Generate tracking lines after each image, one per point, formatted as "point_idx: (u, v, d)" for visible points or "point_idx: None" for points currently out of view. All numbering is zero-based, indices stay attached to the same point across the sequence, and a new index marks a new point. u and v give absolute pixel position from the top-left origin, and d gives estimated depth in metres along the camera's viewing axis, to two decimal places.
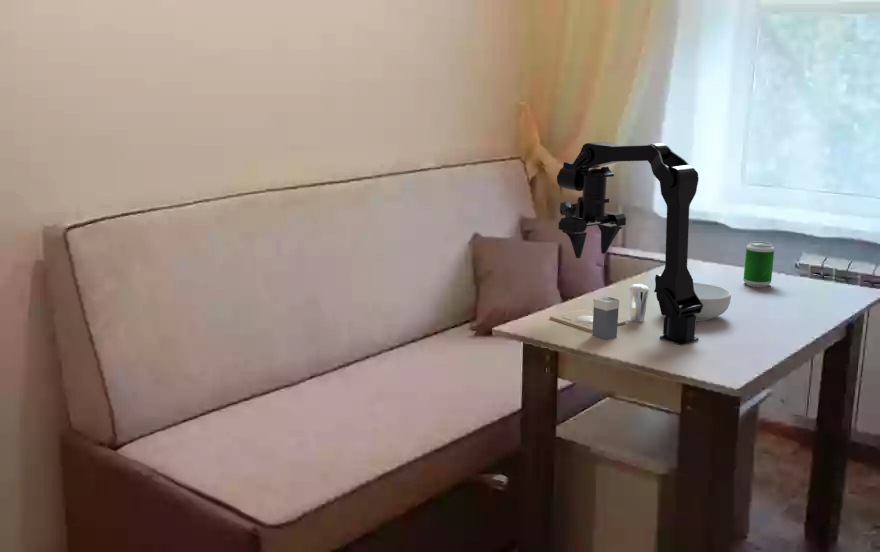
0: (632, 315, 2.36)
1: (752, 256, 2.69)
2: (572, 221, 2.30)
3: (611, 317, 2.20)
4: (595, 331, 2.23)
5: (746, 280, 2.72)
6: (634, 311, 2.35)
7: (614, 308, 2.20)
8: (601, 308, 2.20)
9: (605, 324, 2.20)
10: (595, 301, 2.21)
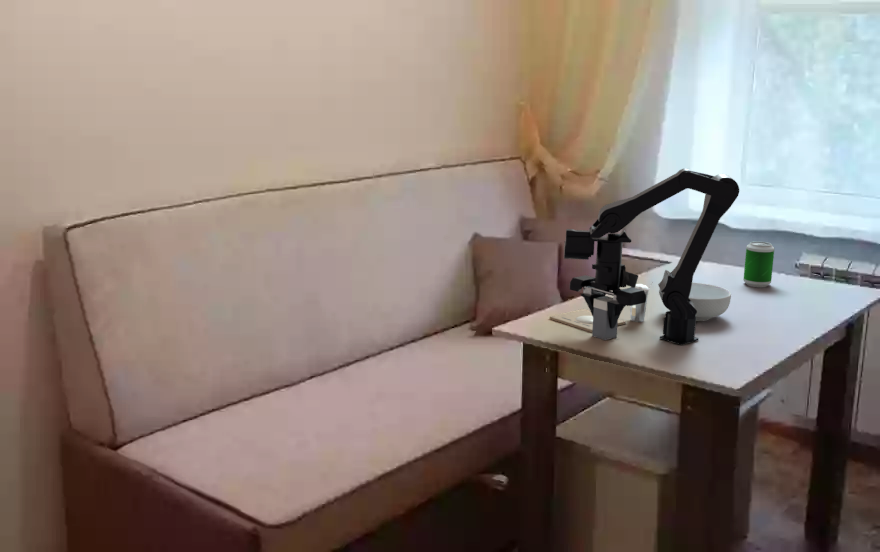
0: (632, 315, 2.36)
1: (752, 256, 2.69)
2: None
3: None
4: (595, 331, 2.23)
5: (746, 280, 2.72)
6: (634, 311, 2.35)
7: None
8: (601, 308, 2.20)
9: (605, 324, 2.20)
10: (595, 301, 2.21)
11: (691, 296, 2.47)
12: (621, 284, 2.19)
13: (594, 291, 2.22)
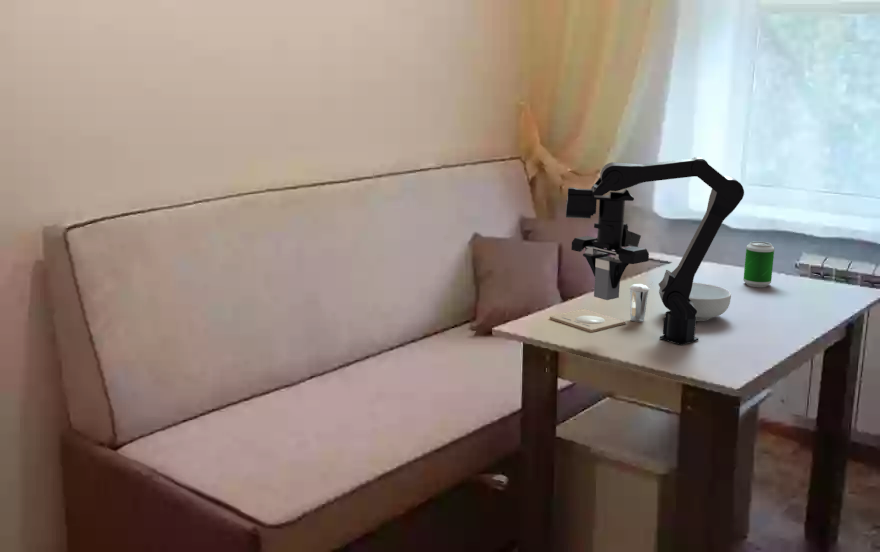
0: (632, 315, 2.36)
1: (752, 256, 2.69)
2: None
3: None
4: (597, 291, 2.20)
5: (746, 280, 2.72)
6: (634, 311, 2.35)
7: None
8: (603, 268, 2.18)
9: (607, 284, 2.18)
10: (597, 261, 2.19)
11: (691, 296, 2.47)
12: (623, 243, 2.17)
13: (596, 251, 2.20)
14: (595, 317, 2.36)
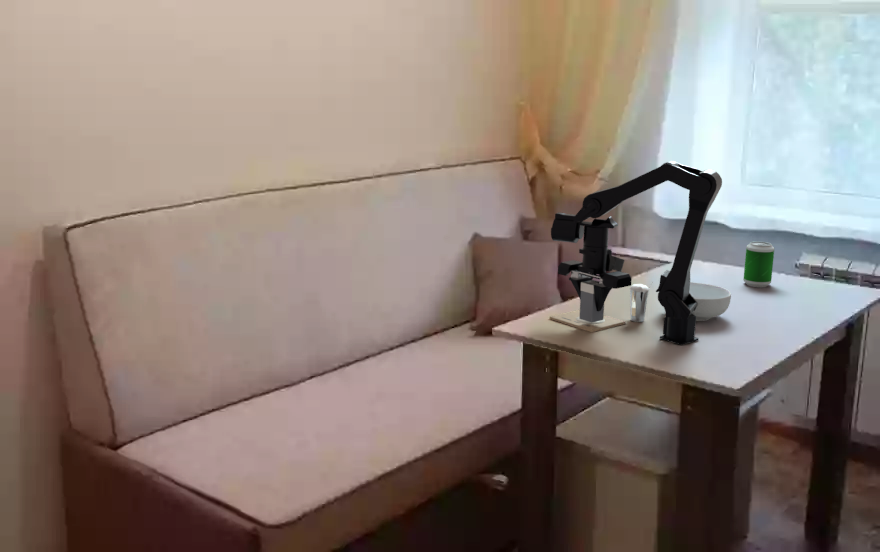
0: (632, 315, 2.36)
1: (752, 256, 2.69)
2: None
3: None
4: (582, 314, 2.29)
5: (746, 280, 2.72)
6: (634, 311, 2.35)
7: None
8: (588, 291, 2.27)
9: (592, 307, 2.26)
10: (582, 285, 2.28)
11: None
12: (607, 268, 2.26)
13: (581, 275, 2.29)
14: None
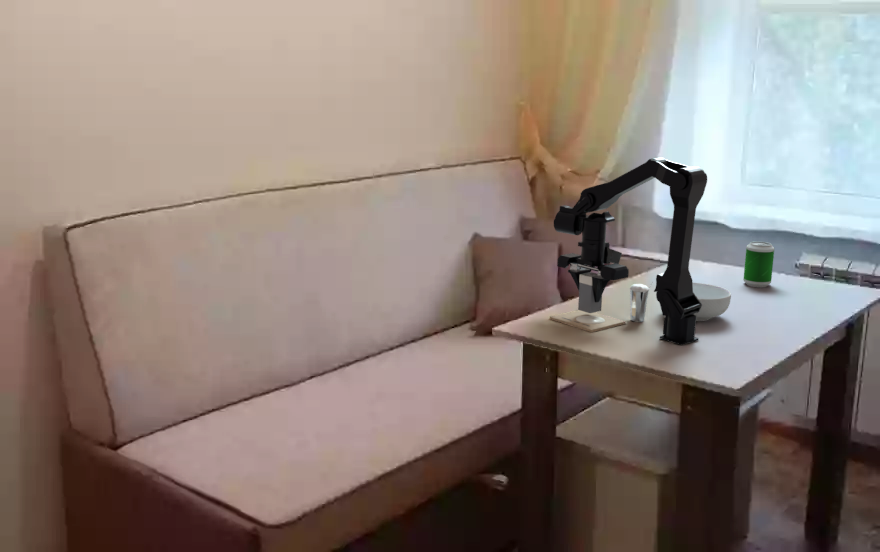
0: (632, 315, 2.36)
1: (752, 256, 2.69)
2: None
3: None
4: (581, 305, 2.37)
5: (746, 280, 2.72)
6: (634, 311, 2.35)
7: None
8: (586, 283, 2.34)
9: (590, 298, 2.34)
10: (581, 277, 2.35)
11: None
12: (605, 260, 2.34)
13: (580, 267, 2.37)
14: (595, 317, 2.36)
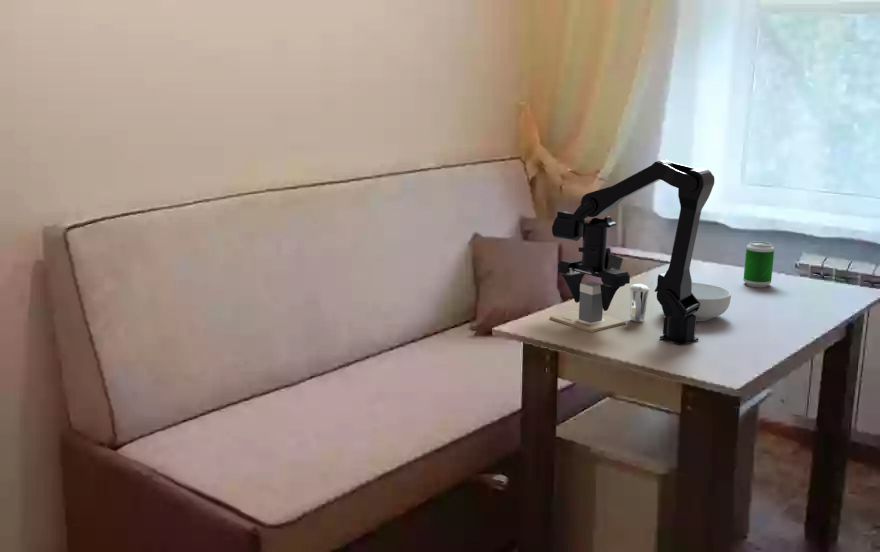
0: (632, 315, 2.36)
1: (752, 256, 2.69)
2: None
3: (596, 301, 2.31)
4: (581, 314, 2.34)
5: (746, 280, 2.72)
6: (634, 311, 2.35)
7: (600, 292, 2.31)
8: (587, 292, 2.31)
9: (591, 308, 2.31)
10: (581, 286, 2.32)
11: None
12: (606, 266, 2.30)
13: (573, 271, 2.35)
14: None
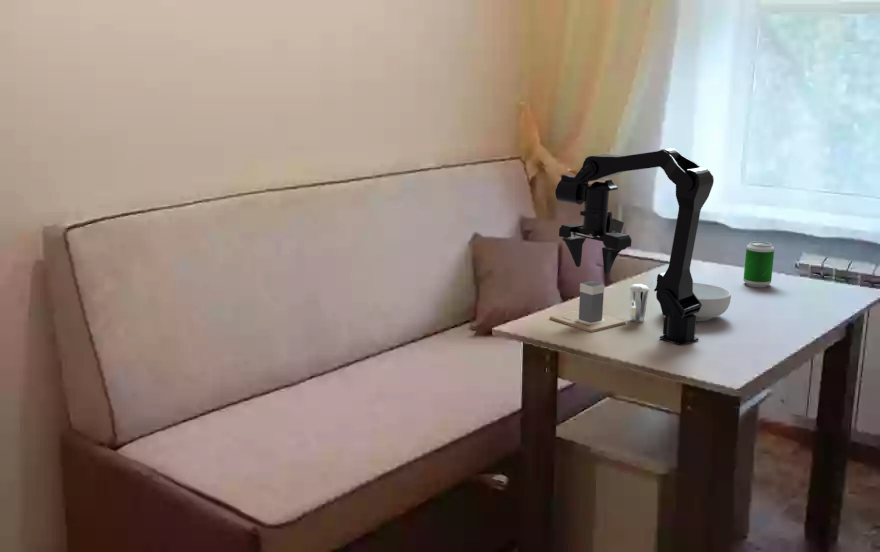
0: (632, 315, 2.36)
1: (752, 256, 2.69)
2: None
3: (596, 301, 2.31)
4: (581, 314, 2.34)
5: (746, 280, 2.72)
6: (634, 311, 2.35)
7: (600, 292, 2.31)
8: (587, 292, 2.31)
9: (591, 308, 2.31)
10: (581, 286, 2.32)
11: None
12: (608, 230, 2.31)
13: (575, 235, 2.36)
14: None
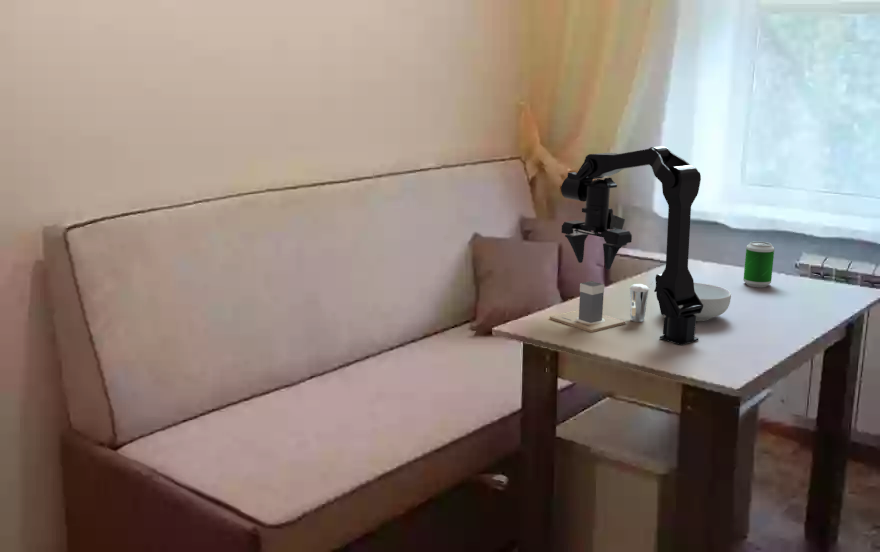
0: (632, 315, 2.36)
1: (752, 256, 2.69)
2: None
3: (596, 301, 2.31)
4: (581, 314, 2.34)
5: (746, 280, 2.72)
6: (634, 311, 2.35)
7: (600, 292, 2.31)
8: (587, 292, 2.31)
9: (591, 308, 2.31)
10: (581, 286, 2.32)
11: None
12: (609, 226, 2.37)
13: (577, 232, 2.42)
14: None
